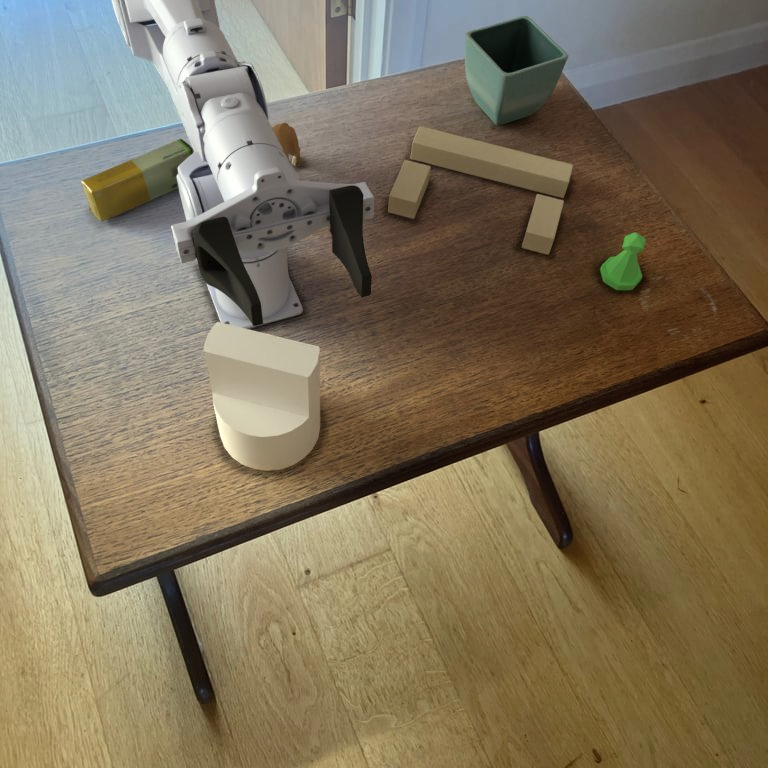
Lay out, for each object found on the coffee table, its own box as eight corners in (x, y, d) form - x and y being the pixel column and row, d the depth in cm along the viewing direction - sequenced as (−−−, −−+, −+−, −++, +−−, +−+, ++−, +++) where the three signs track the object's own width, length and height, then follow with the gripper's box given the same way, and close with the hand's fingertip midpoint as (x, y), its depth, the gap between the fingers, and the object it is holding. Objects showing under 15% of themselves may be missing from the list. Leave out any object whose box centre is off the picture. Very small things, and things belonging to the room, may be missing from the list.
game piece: (636, 296, 85) (656, 257, 80) (596, 284, 86) (613, 245, 81) (643, 266, 87) (662, 227, 82) (603, 255, 88) (620, 215, 83)
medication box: (188, 167, 91) (182, 136, 88) (201, 179, 90) (195, 148, 87) (89, 210, 87) (78, 179, 83) (101, 223, 85) (90, 192, 82)
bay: (548, 255, 87) (554, 239, 85) (387, 212, 89) (389, 195, 87) (568, 181, 94) (573, 164, 92) (417, 142, 96) (419, 125, 94)
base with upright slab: (332, 397, 76) (333, 318, 66) (303, 481, 71) (299, 410, 61) (239, 374, 77) (227, 292, 67) (204, 456, 72) (185, 381, 62)
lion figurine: (305, 244, 86) (303, 180, 79) (254, 245, 86) (247, 180, 78) (302, 148, 94) (300, 82, 87) (255, 149, 94) (249, 81, 86)
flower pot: (453, 97, 101) (463, 31, 93) (512, 79, 103) (527, 13, 96) (490, 141, 97) (504, 76, 89) (552, 121, 99) (570, 56, 92)
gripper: (149, 151, 57) (197, 285, 50) (344, 112, 61) (417, 231, 53) (166, 228, 63) (211, 358, 55) (344, 187, 66) (409, 304, 59)
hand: (312, 300), depth 55 cm, fingers open, 7 cm apart
